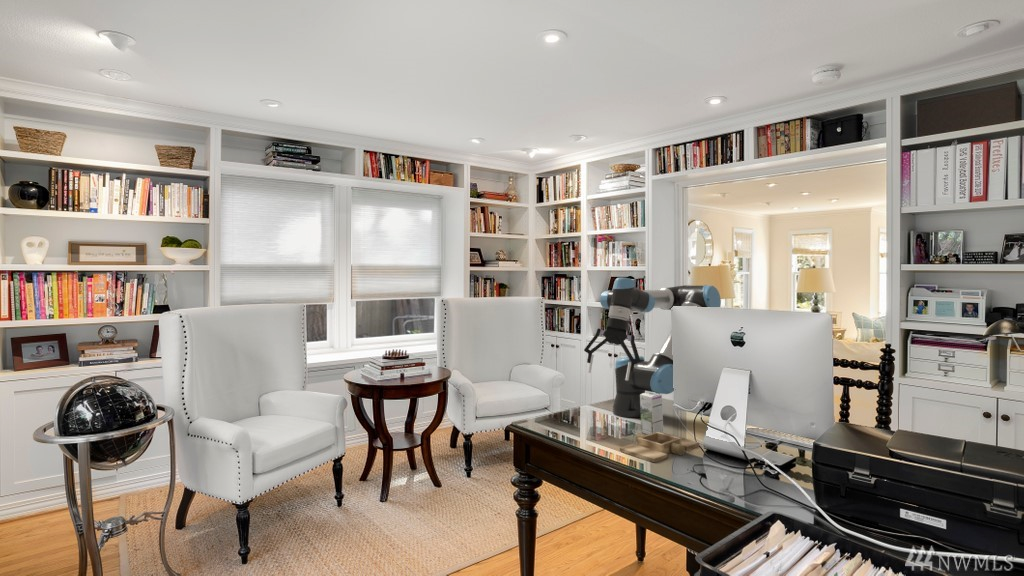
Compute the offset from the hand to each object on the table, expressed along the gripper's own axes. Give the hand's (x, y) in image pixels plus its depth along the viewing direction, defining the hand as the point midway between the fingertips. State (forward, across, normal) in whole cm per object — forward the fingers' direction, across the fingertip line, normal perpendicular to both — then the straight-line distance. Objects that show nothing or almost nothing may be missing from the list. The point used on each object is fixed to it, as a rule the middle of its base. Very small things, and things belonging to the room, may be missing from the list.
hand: (607, 376), depth 194 cm
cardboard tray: (+20, +20, -12) cm, 31 cm away
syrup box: (+17, +19, +4) cm, 26 cm away
